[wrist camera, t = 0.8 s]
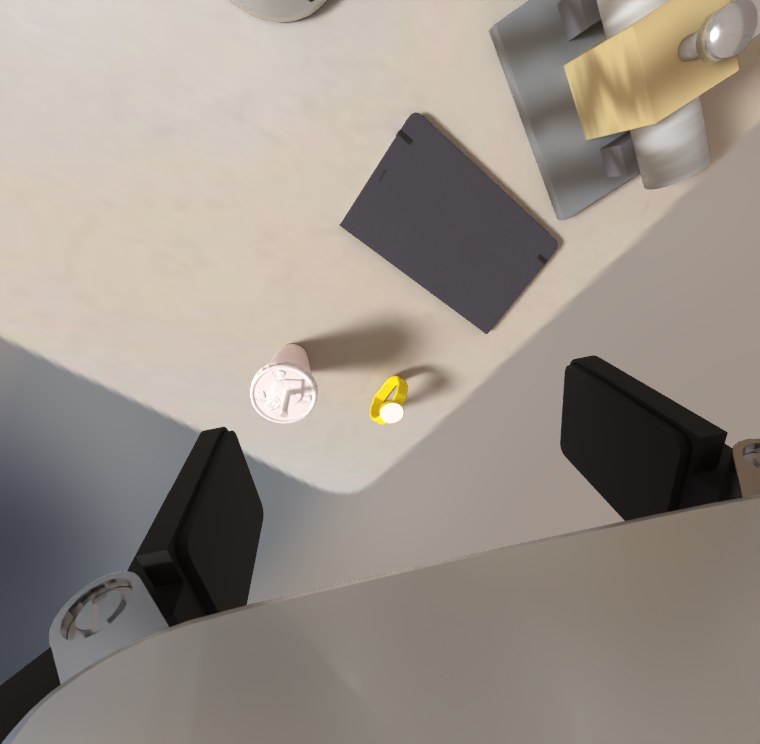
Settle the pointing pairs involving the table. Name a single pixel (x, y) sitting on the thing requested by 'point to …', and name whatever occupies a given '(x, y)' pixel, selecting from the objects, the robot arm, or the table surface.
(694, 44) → the valve stand
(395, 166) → the notebook
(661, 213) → the table surface
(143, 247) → the table surface
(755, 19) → the lever
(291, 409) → the smoothie
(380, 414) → the watch
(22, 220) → the table surface
